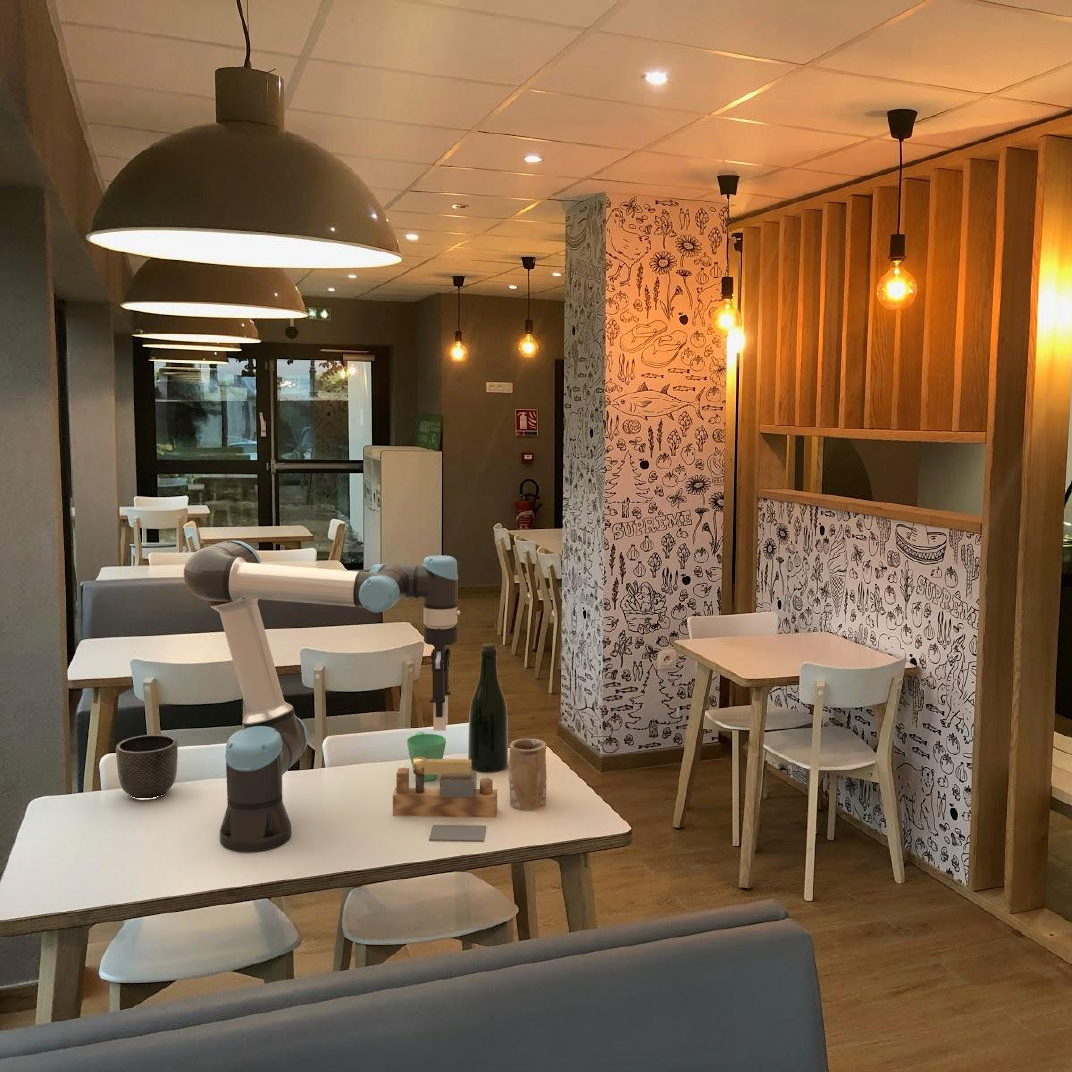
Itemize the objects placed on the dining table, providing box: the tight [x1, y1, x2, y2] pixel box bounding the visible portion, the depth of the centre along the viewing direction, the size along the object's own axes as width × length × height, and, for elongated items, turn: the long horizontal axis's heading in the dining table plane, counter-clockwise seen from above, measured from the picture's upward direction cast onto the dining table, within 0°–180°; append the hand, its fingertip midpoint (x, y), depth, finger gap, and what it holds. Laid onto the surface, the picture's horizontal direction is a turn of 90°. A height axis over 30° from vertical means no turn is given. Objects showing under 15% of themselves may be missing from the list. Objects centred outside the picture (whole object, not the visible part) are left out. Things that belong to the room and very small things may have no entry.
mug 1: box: [406, 731, 447, 782], centre depth 266 cm, size 15×10×10 cm
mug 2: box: [508, 738, 548, 811], centre depth 249 cm, size 9×13×15 cm
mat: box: [428, 824, 487, 843], centre depth 230 cm, size 12×8×1 cm, turn 89°
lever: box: [412, 757, 473, 776], centre depth 241 cm, size 14×3×3 cm, turn 89°
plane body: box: [392, 767, 498, 818], centre depth 241 cm, size 24×5×10 cm, turn 89°
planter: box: [115, 734, 179, 798], centre depth 250 cm, size 14×14×13 cm
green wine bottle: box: [467, 642, 509, 773], centre depth 272 cm, size 10×10×33 cm
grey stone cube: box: [439, 770, 478, 798], centre depth 241 cm, size 8×7×4 cm
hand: (440, 726), depth 233 cm, fingers open, 4 cm apart
